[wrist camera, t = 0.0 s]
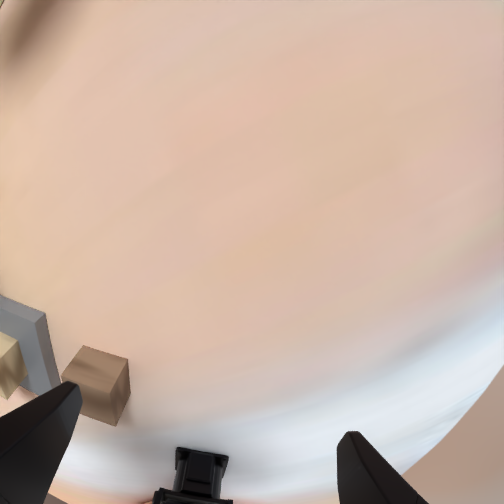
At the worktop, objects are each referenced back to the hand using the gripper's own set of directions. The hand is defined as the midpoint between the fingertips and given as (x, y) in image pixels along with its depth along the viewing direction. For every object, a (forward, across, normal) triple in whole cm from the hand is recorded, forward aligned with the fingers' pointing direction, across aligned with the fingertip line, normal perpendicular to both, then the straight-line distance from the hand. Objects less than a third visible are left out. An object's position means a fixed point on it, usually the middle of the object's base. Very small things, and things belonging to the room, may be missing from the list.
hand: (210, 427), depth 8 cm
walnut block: (+15, +11, +14) cm, 23 cm away
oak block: (+13, +24, +15) cm, 31 cm away
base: (+15, +24, +15) cm, 32 cm away
